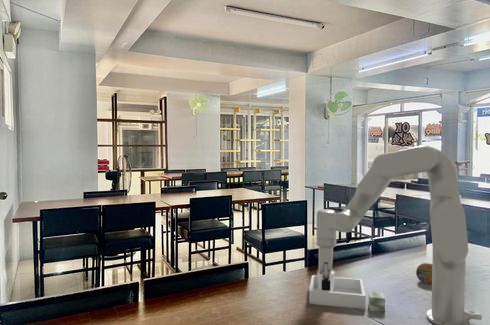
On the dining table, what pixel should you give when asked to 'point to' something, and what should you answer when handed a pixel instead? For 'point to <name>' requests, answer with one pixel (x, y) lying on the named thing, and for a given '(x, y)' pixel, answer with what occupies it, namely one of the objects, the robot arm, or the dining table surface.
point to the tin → (425, 273)
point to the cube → (376, 301)
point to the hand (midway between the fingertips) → (326, 286)
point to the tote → (339, 293)
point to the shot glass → (332, 277)
